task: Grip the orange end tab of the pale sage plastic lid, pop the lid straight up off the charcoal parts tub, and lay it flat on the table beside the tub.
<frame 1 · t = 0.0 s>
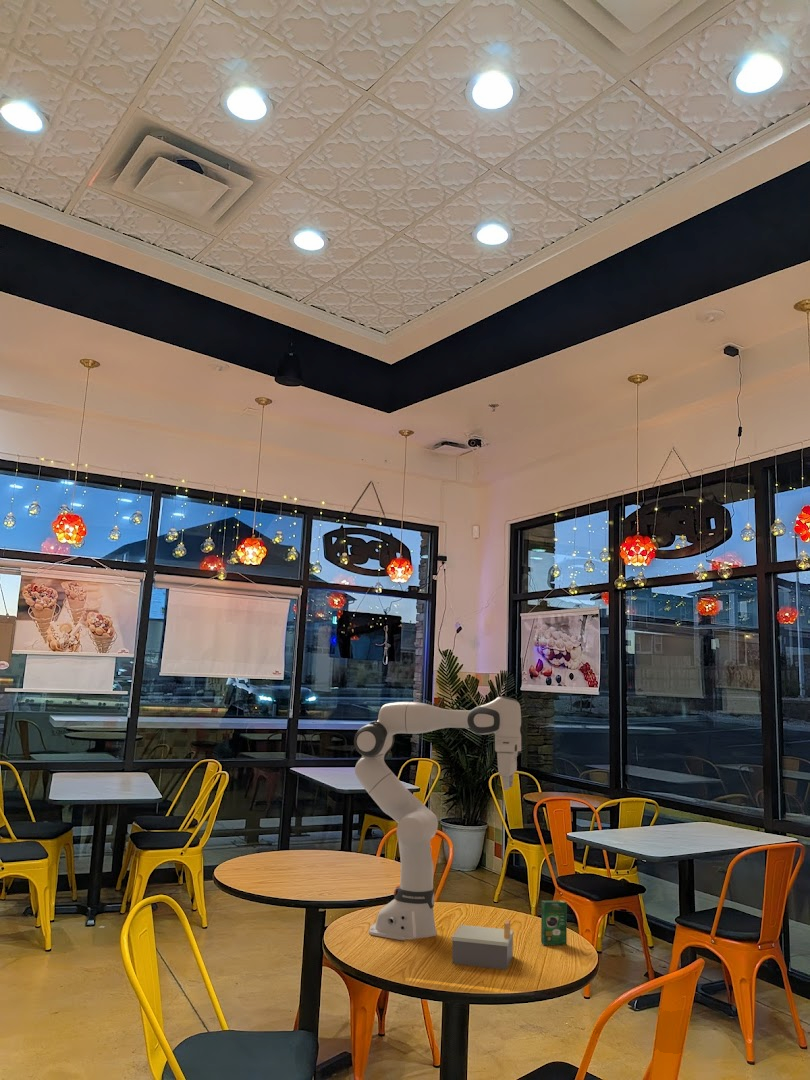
hand: (508, 788, 258), 48 cm above the table, tool pointing down, fingers open, 8 cm apart
lid: (483, 937, 231), point 7 cm above the table, touching tub
coffee box: (554, 945, 249), on the table
tub: (483, 962, 229), on the table
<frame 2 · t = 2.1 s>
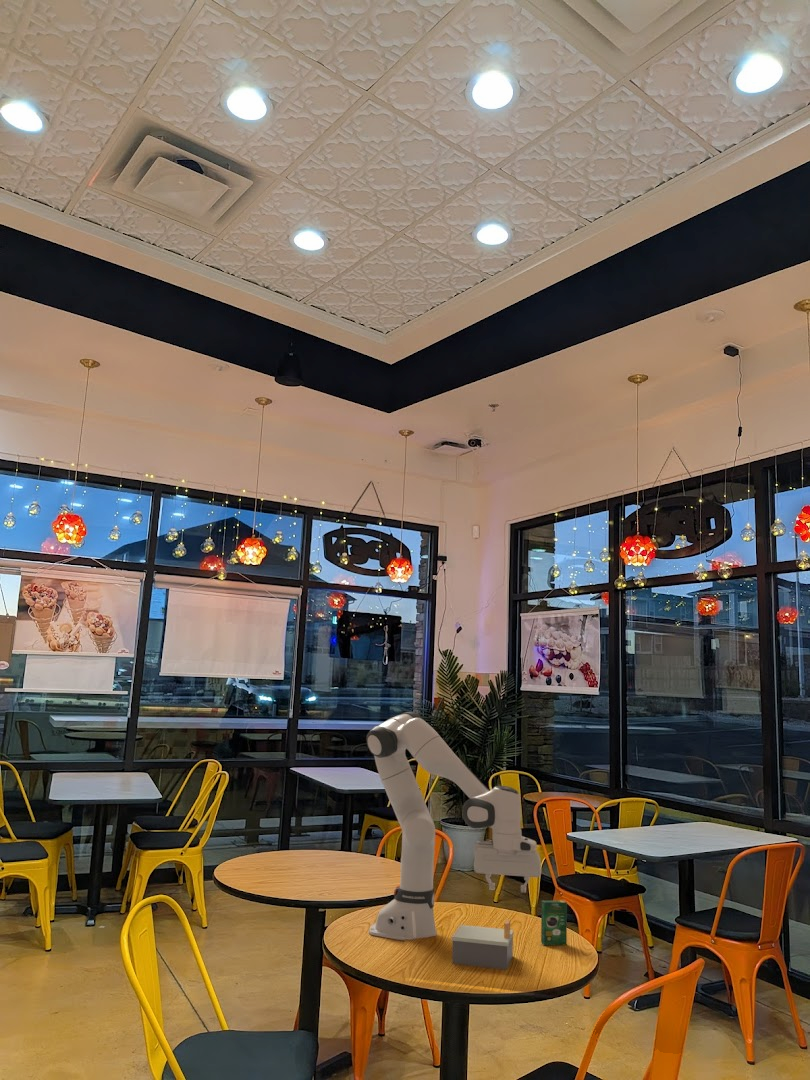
hand: (507, 890, 232), 21 cm above the table, tool pointing down, fingers open, 8 cm apart
nothing on the table moved.
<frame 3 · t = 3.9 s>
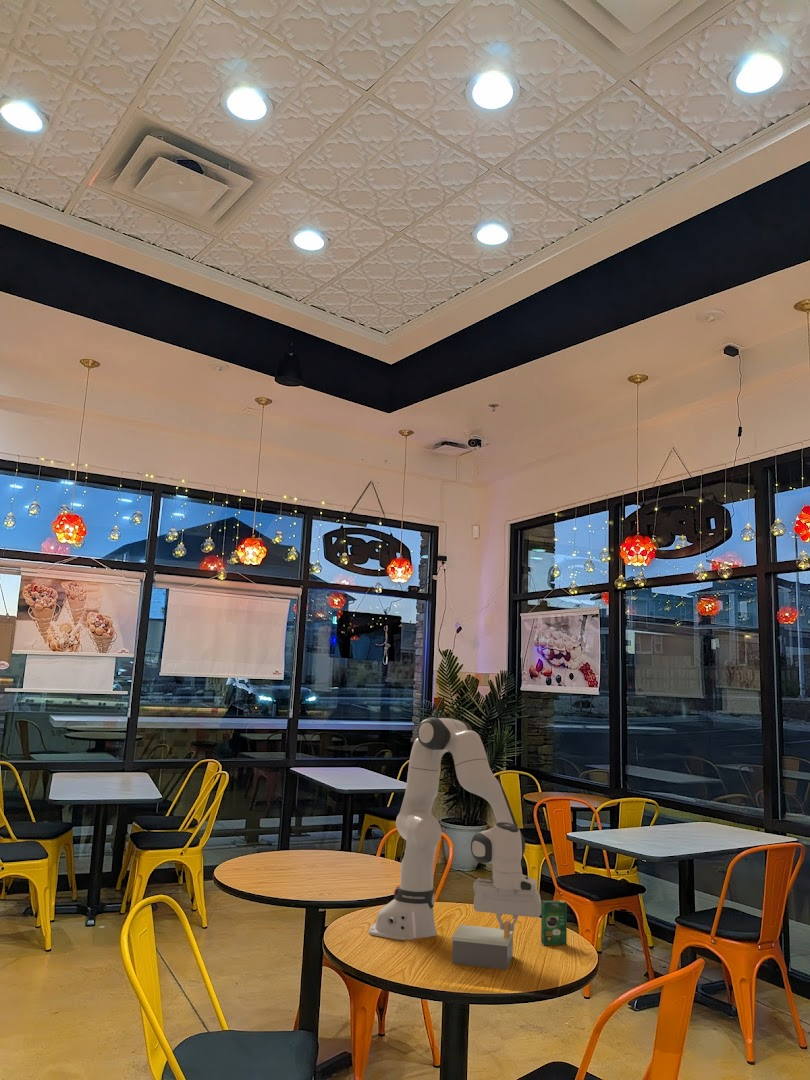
hand: (507, 930, 230), 10 cm above the table, tool pointing down, fingers closed on lid
lid: (483, 937, 231), point 7 cm above the table, touching gripper, tub
everything else where it was.
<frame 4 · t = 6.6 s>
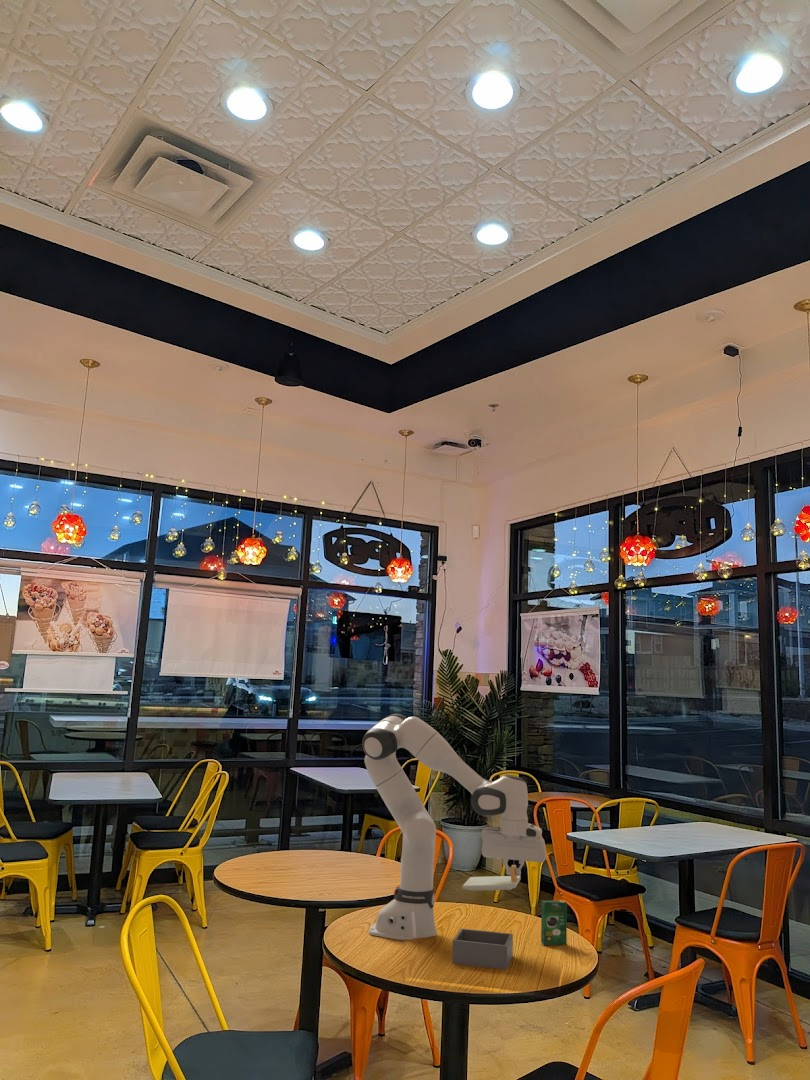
hand: (513, 874, 243), 23 cm above the table, tool pointing down, fingers closed on lid
lid: (492, 883, 244), point 20 cm above the table, tilted 6°, touching gripper
everything else where it was.
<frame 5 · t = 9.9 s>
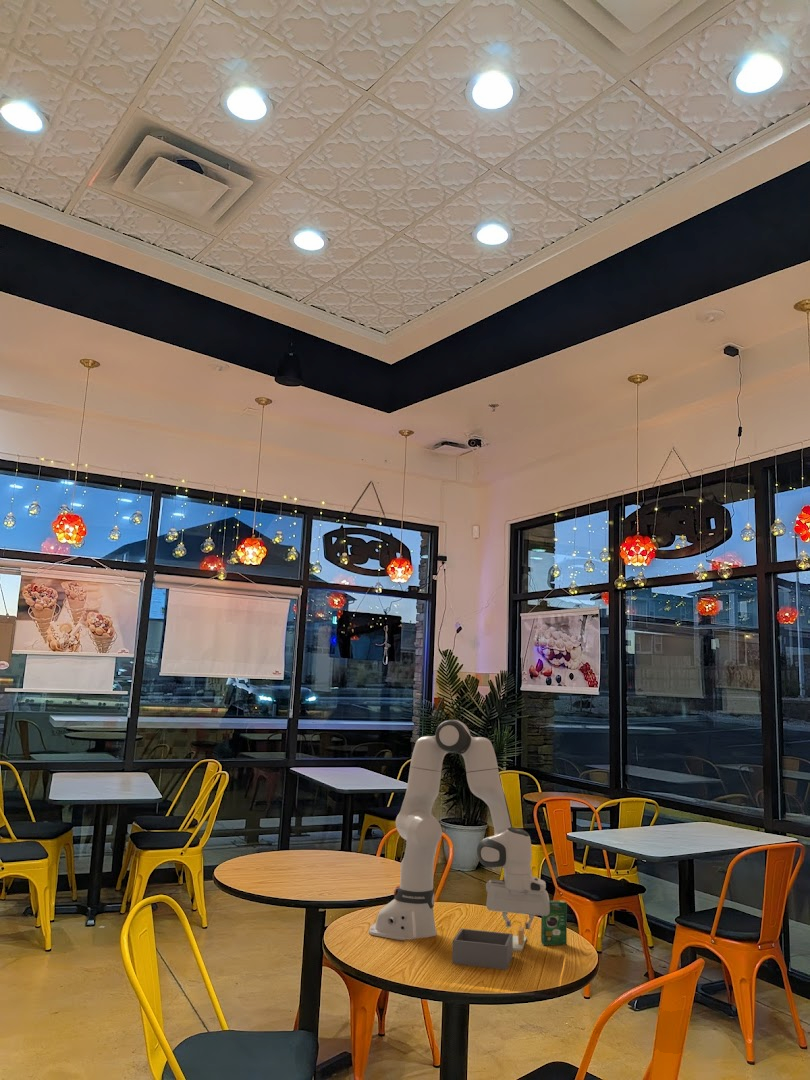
hand: (518, 927, 246), 6 cm above the table, tool pointing down, fingers open, 5 cm apart
lid: (498, 943, 247), on the table
everything else where it was.
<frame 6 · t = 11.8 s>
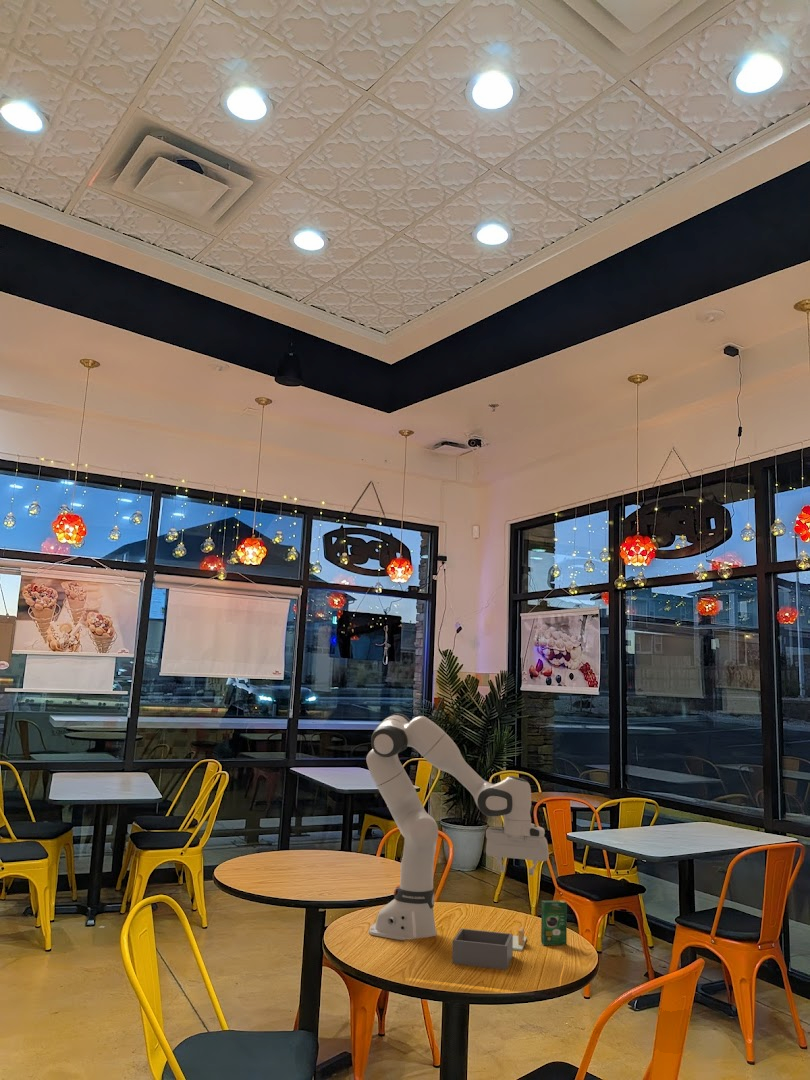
hand: (516, 873, 251), 22 cm above the table, tool pointing down, fingers open, 8 cm apart
nothing on the table moved.
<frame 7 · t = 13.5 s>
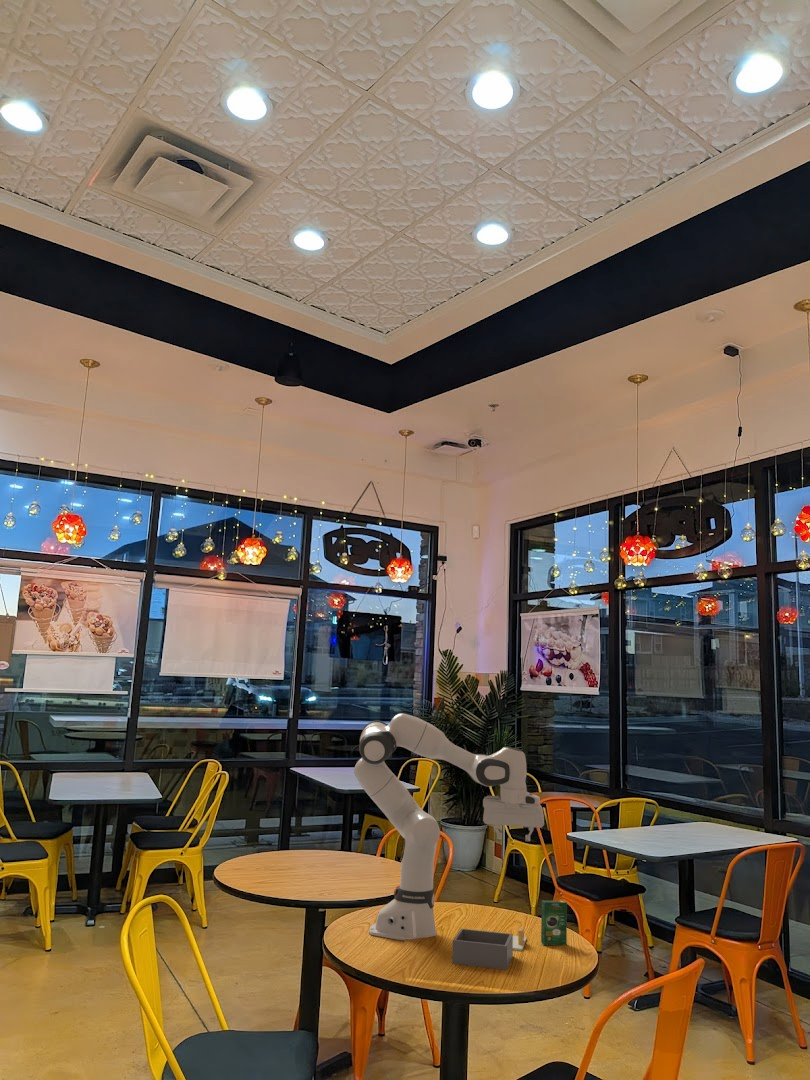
hand: (513, 840, 258), 31 cm above the table, tool pointing down, fingers open, 8 cm apart
nothing on the table moved.
at the end: lid inside the target area (1.0 cm from its centre), on the table; lid tilted 0°; the gripper is holding nothing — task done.
